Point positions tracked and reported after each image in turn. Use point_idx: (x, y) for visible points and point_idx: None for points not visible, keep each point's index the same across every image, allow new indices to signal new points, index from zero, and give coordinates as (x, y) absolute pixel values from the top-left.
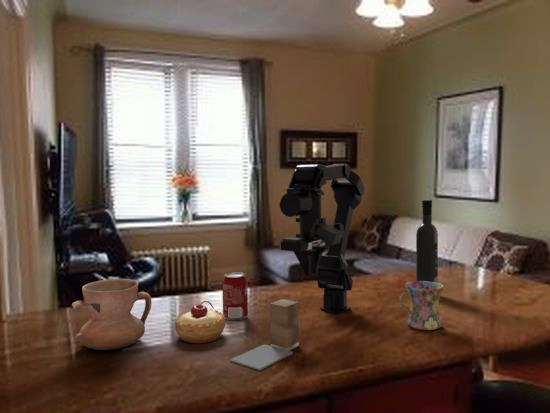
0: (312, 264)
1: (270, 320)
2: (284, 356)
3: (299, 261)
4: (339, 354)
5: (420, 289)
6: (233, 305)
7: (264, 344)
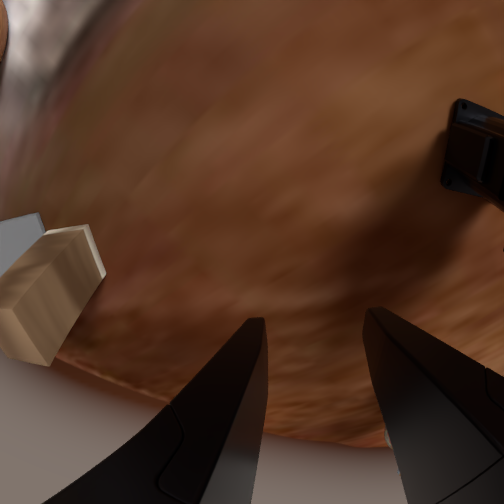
0: (394, 381)
1: (4, 273)
2: None
3: (159, 420)
4: (151, 356)
5: (398, 471)
6: None
7: (35, 216)
